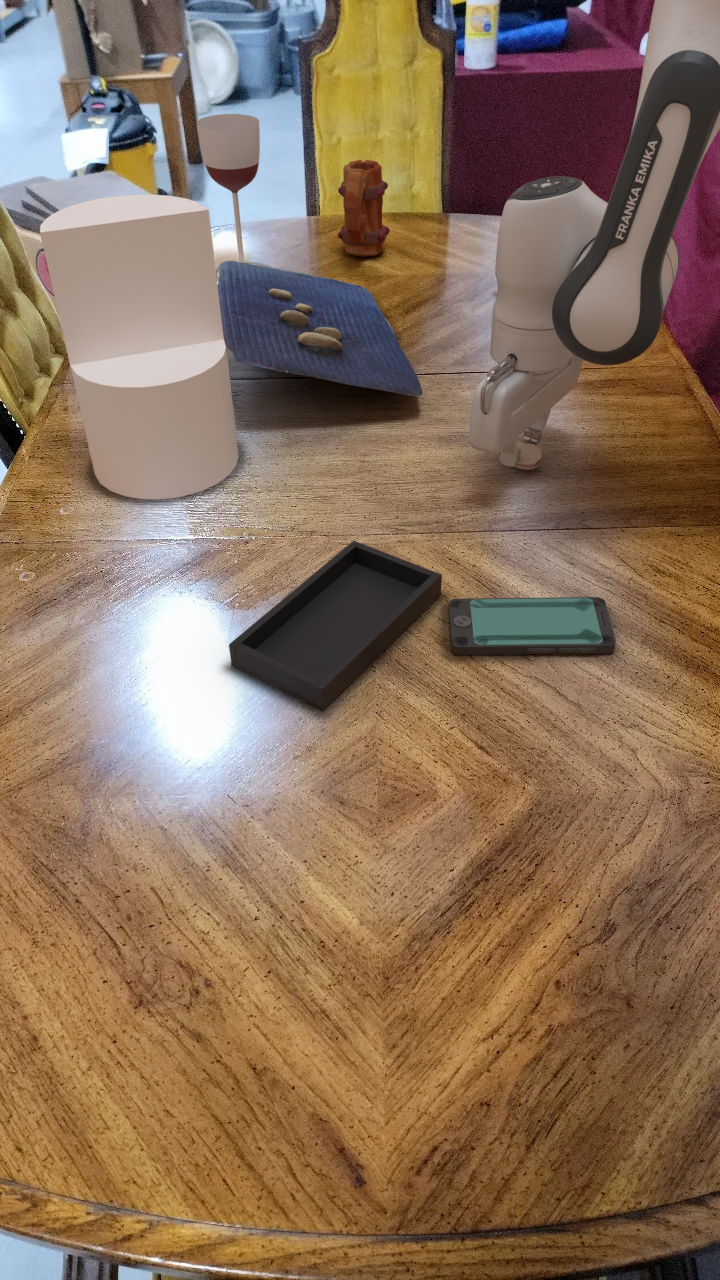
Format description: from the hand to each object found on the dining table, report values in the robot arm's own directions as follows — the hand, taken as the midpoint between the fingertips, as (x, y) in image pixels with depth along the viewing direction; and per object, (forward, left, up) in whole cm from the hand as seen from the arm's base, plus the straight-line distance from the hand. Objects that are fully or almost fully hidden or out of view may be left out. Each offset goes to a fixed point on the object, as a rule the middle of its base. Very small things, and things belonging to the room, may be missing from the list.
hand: (521, 452), depth 116 cm
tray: (0, +36, -2) cm, 36 cm away
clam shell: (0, 0, -2) cm, 2 cm away
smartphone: (-15, +26, -2) cm, 30 cm away
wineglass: (+68, -30, -2) cm, 74 cm away
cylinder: (+36, +22, -2) cm, 42 cm away
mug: (+55, -46, -2) cm, 72 cm away
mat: (+40, -10, -2) cm, 42 cm away
